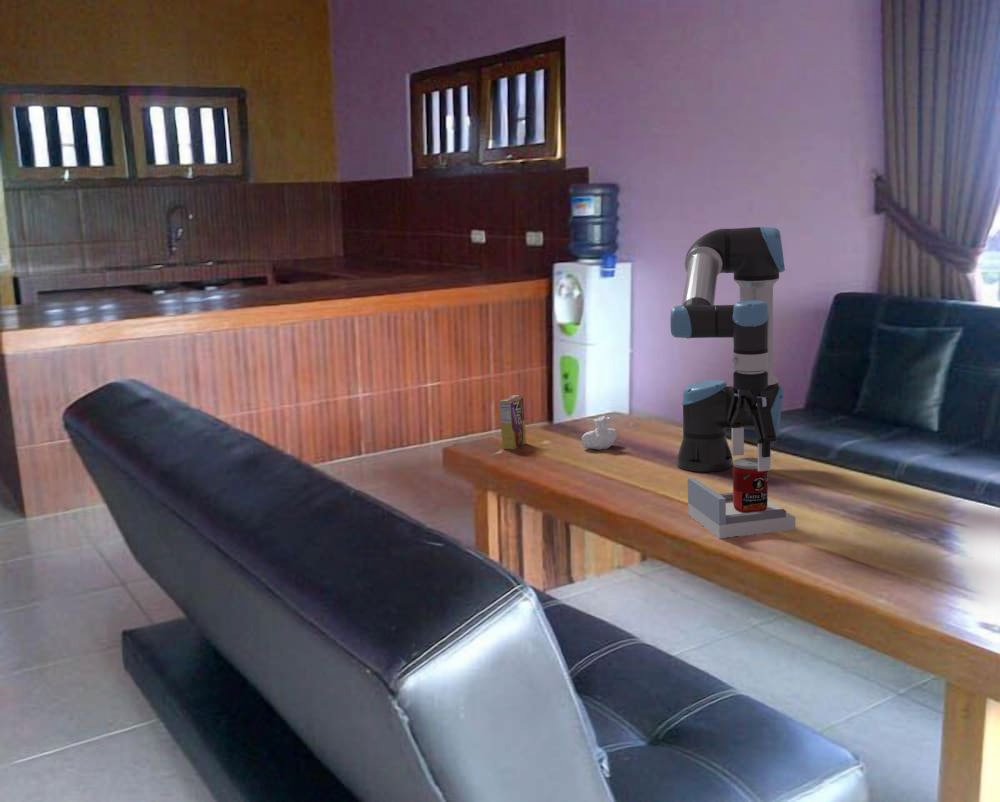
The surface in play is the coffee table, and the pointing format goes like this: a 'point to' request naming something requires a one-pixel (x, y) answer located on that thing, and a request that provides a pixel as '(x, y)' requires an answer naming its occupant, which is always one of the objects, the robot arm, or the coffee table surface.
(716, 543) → the coffee table surface
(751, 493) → the canned food
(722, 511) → the dock
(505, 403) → the candy box
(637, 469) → the coffee table surface
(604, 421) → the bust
